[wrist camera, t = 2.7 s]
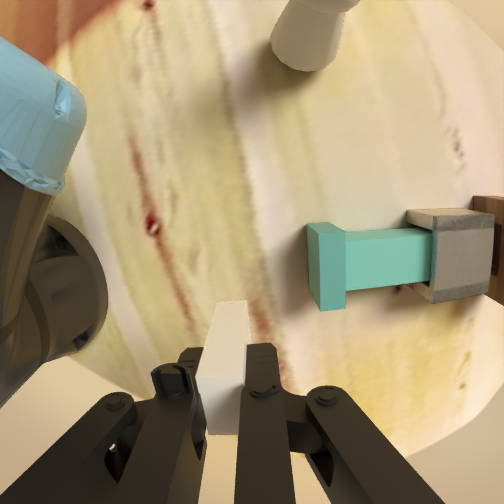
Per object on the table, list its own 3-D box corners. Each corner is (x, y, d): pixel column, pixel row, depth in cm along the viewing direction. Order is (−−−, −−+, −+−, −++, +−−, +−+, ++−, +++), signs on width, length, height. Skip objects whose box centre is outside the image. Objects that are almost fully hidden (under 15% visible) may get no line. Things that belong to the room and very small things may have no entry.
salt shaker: (342, 48, 24) (395, -24, 11) (312, 90, 25) (356, 26, 12) (289, 17, 23) (310, -70, 10) (256, 57, 24) (259, -26, 11)
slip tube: (309, 289, 28) (320, 311, 23) (306, 223, 27) (318, 233, 22) (435, 274, 28) (462, 290, 23) (437, 216, 27) (467, 223, 22)
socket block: (468, 285, 29) (506, 307, 22) (473, 195, 26) (516, 202, 20) (491, 281, 29) (528, 300, 22) (496, 196, 26) (538, 202, 20)
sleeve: (405, 283, 29) (432, 304, 23) (407, 209, 27) (437, 217, 21) (457, 276, 28) (487, 292, 23) (461, 208, 27) (494, 214, 21)
